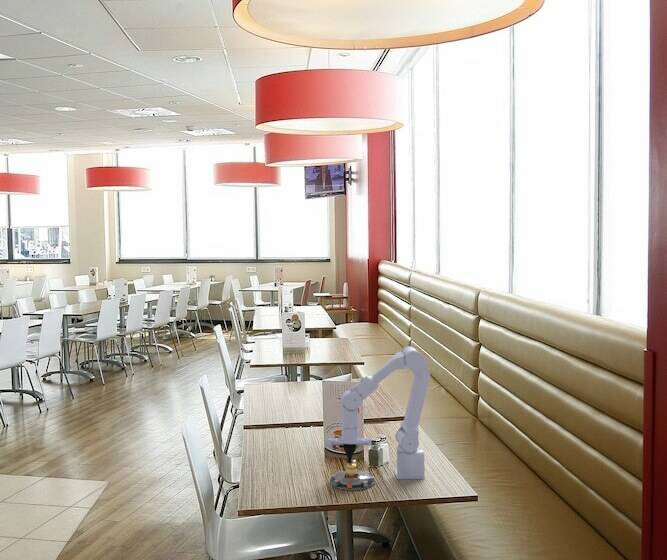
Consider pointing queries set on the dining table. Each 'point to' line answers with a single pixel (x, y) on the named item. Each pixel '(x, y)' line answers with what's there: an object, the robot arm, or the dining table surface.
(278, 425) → the dining table surface
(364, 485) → the grey toothed wheel
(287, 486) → the dining table surface
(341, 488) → the base flange
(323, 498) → the dining table surface
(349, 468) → the roller
